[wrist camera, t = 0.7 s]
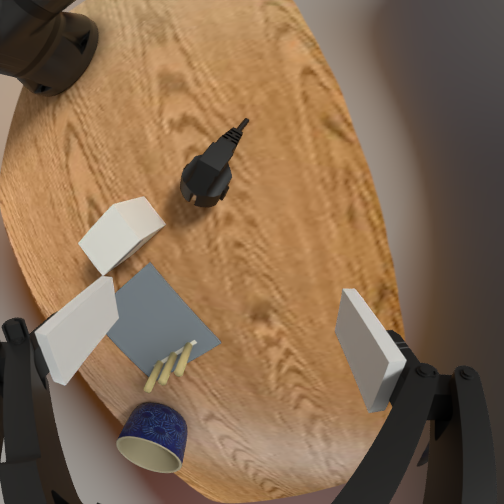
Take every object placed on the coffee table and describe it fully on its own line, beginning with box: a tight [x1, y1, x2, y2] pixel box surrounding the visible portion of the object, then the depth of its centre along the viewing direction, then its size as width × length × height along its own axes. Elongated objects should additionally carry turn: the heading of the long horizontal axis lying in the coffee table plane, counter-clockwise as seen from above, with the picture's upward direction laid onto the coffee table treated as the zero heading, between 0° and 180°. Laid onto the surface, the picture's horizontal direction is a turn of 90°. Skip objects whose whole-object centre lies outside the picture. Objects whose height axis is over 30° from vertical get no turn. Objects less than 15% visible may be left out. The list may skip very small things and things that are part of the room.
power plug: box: [180, 118, 249, 207], centre depth 33 cm, size 6×8×12 cm
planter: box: [116, 403, 187, 473], centre depth 42 cm, size 12×12×11 cm
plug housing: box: [78, 196, 166, 276], centre depth 33 cm, size 5×7×9 cm
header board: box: [106, 262, 221, 393], centre depth 38 cm, size 16×16×7 cm
